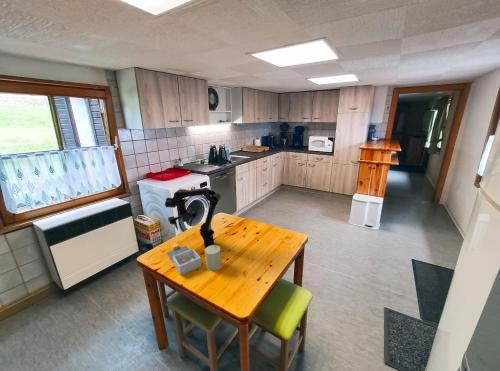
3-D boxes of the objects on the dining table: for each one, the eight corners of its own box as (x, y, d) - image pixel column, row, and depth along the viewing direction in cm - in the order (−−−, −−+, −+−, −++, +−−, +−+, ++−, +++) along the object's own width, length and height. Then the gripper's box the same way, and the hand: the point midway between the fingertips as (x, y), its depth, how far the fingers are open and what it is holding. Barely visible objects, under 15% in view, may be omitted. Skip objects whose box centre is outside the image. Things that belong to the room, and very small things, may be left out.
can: (224, 262, 135) (222, 245, 132) (217, 272, 127) (215, 254, 123) (211, 259, 138) (209, 243, 134) (203, 268, 130) (201, 251, 126)
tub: (193, 256, 142) (192, 248, 140) (201, 265, 133) (200, 257, 131) (173, 264, 134) (172, 256, 133) (180, 275, 125) (179, 266, 123)
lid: (183, 243, 156) (183, 240, 155) (192, 255, 144) (192, 251, 143) (164, 250, 149) (164, 247, 148) (172, 263, 136) (172, 259, 135)
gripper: (171, 215, 138) (174, 237, 142) (198, 207, 148) (201, 228, 153) (166, 209, 146) (169, 230, 151) (192, 203, 157) (194, 222, 161)
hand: (184, 227), depth 154 cm, fingers open, 9 cm apart
